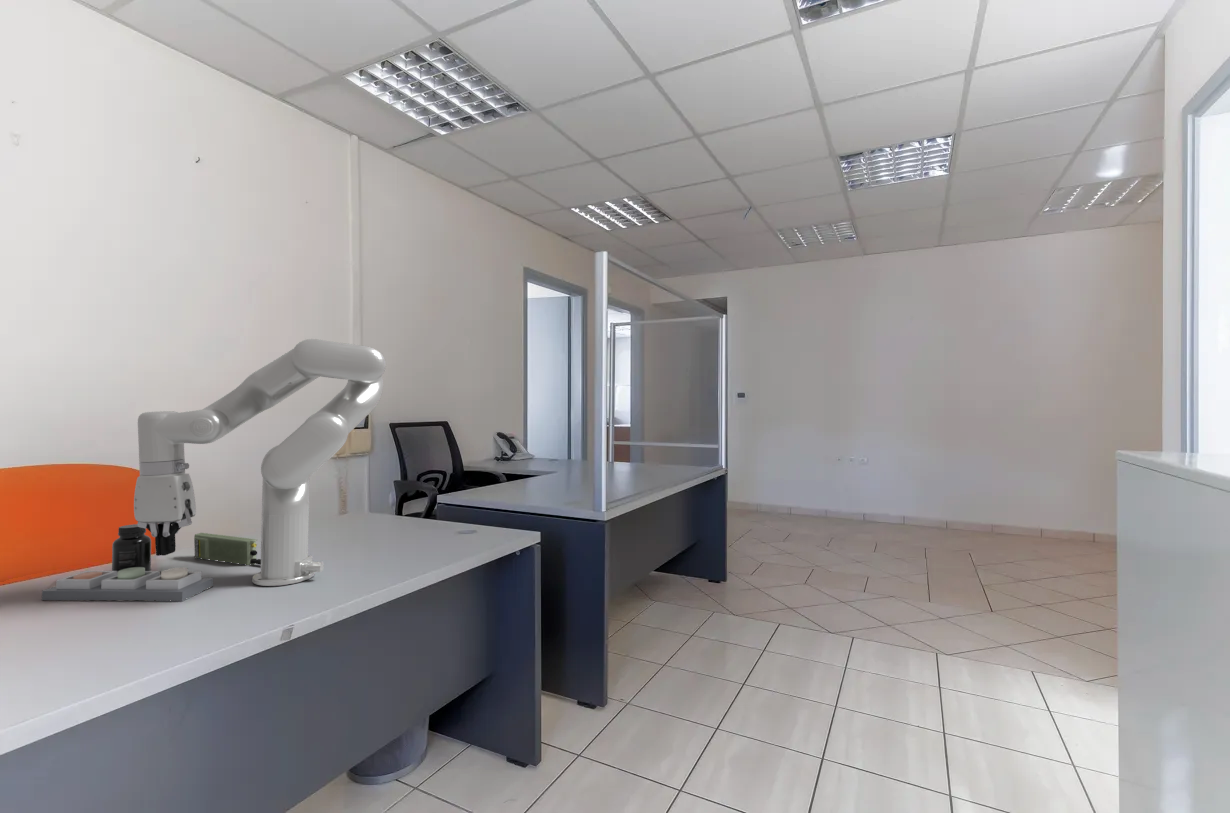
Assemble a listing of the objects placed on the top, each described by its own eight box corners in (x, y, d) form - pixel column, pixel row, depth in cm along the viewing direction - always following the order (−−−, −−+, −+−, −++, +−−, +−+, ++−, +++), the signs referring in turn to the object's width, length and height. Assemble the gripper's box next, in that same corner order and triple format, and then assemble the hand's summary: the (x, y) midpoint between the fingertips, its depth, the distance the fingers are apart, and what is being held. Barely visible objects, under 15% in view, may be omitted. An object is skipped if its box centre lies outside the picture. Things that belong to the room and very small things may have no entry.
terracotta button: (107, 579, 118) (107, 571, 118) (88, 586, 114) (88, 577, 114) (86, 579, 118) (86, 571, 118) (67, 586, 114) (67, 577, 114)
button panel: (212, 586, 121) (213, 569, 121) (182, 601, 112) (182, 583, 112) (83, 586, 120) (83, 568, 120) (41, 600, 111) (42, 582, 111)
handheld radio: (205, 556, 146) (275, 566, 138) (192, 559, 143) (263, 570, 135) (204, 531, 146) (275, 540, 138) (191, 534, 143) (263, 543, 135)
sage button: (150, 575, 119) (150, 567, 119) (133, 581, 114) (133, 573, 114) (129, 575, 119) (129, 567, 119) (111, 581, 114) (111, 573, 114)
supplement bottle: (158, 573, 130) (159, 523, 130) (130, 582, 123) (131, 529, 123) (132, 572, 131) (133, 522, 131) (103, 581, 124) (104, 528, 124)
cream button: (192, 575, 119) (192, 567, 119) (177, 582, 115) (177, 573, 115) (171, 575, 119) (172, 567, 119) (155, 582, 115) (155, 573, 115)
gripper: (210, 465, 121) (213, 548, 121) (142, 467, 120) (145, 549, 121) (184, 470, 113) (187, 558, 114) (111, 472, 113) (115, 560, 113)
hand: (165, 553), depth 117 cm, fingers closed
